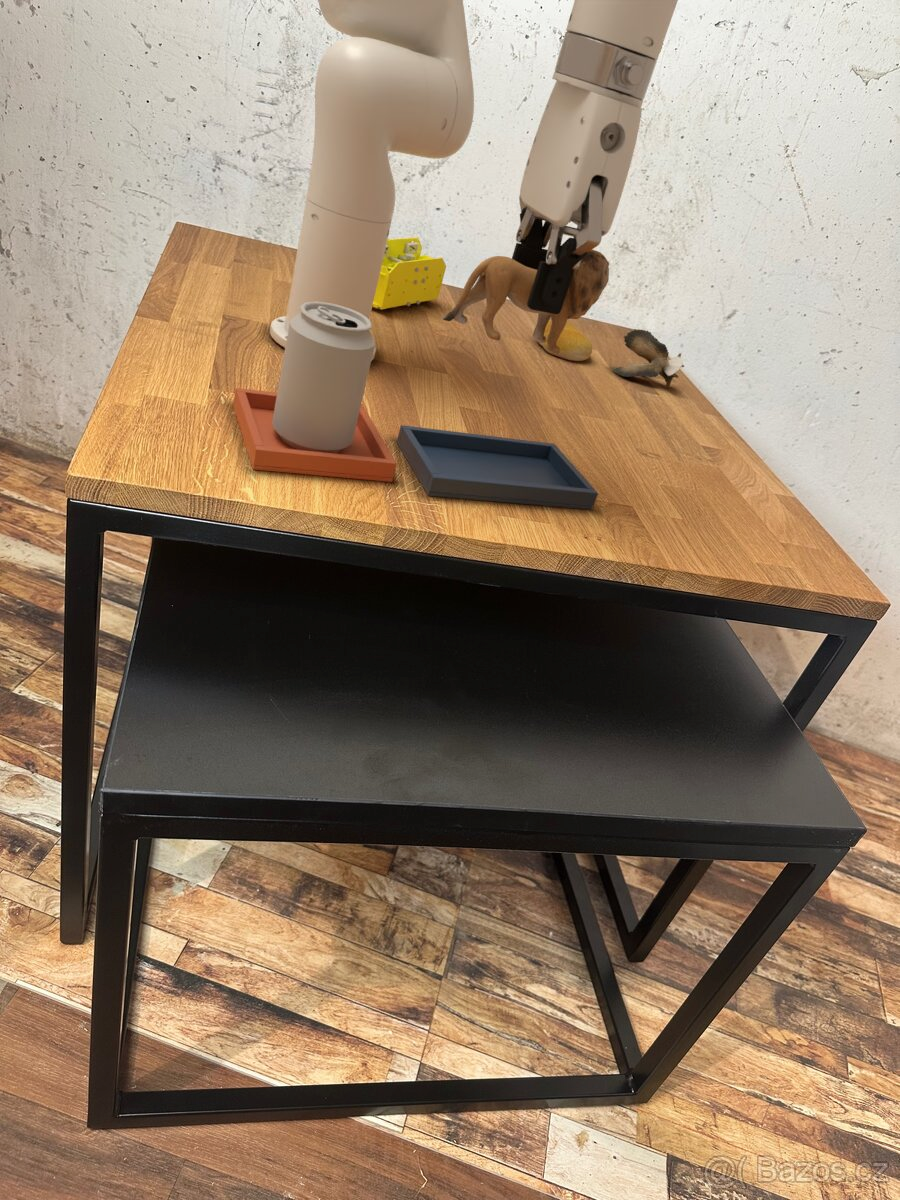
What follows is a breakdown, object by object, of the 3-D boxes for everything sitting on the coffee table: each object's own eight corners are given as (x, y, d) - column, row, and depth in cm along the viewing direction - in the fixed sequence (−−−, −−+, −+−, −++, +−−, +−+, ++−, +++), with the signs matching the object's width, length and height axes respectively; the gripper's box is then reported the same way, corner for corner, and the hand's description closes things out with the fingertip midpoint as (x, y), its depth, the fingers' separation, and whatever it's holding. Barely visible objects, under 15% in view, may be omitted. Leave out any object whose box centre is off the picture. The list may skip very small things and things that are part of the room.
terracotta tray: (232, 405, 83) (235, 387, 82) (358, 421, 88) (362, 403, 87) (252, 469, 73) (256, 449, 72) (392, 482, 79) (397, 463, 78)
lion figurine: (568, 341, 85) (600, 247, 81) (593, 360, 81) (628, 262, 77) (431, 316, 79) (458, 212, 74) (452, 336, 75) (481, 227, 70)
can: (337, 467, 77) (366, 337, 71) (258, 440, 77) (280, 307, 71) (360, 439, 83) (389, 317, 77) (287, 413, 84) (310, 290, 77)
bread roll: (551, 359, 125) (561, 332, 123) (527, 336, 132) (535, 310, 130) (599, 366, 129) (608, 340, 127) (572, 343, 135) (581, 318, 133)
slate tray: (396, 442, 86) (400, 424, 85) (548, 459, 94) (554, 443, 93) (428, 495, 78) (433, 477, 77) (591, 509, 86) (598, 493, 85)
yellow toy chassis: (407, 291, 134) (420, 235, 130) (437, 304, 133) (452, 249, 128) (348, 300, 122) (361, 239, 117) (381, 315, 120) (396, 254, 116)
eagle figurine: (666, 368, 134) (616, 342, 132) (694, 341, 128) (642, 313, 126) (658, 406, 131) (607, 380, 129) (686, 380, 124) (633, 352, 122)
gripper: (696, 103, 64) (608, 341, 74) (595, 72, 77) (530, 278, 86) (612, 75, 61) (531, 327, 71) (520, 47, 74) (462, 264, 83)
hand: (531, 298), depth 78 cm, fingers closed on lion figurine, 4 cm apart
